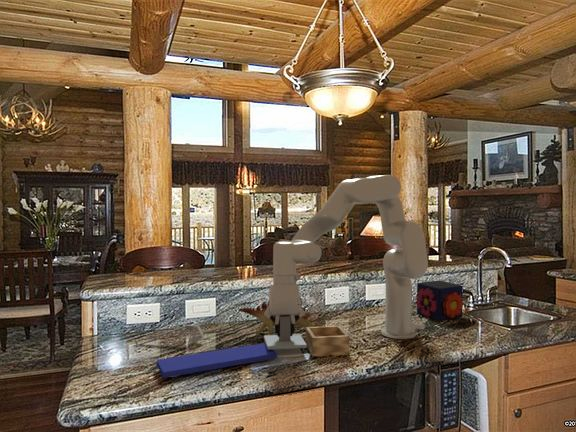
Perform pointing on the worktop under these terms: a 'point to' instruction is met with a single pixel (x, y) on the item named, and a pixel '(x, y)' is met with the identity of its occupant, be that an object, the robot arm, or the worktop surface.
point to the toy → (268, 322)
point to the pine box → (327, 341)
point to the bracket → (189, 327)
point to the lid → (284, 337)
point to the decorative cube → (439, 300)
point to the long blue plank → (214, 360)
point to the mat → (288, 352)
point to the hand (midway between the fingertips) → (284, 334)
